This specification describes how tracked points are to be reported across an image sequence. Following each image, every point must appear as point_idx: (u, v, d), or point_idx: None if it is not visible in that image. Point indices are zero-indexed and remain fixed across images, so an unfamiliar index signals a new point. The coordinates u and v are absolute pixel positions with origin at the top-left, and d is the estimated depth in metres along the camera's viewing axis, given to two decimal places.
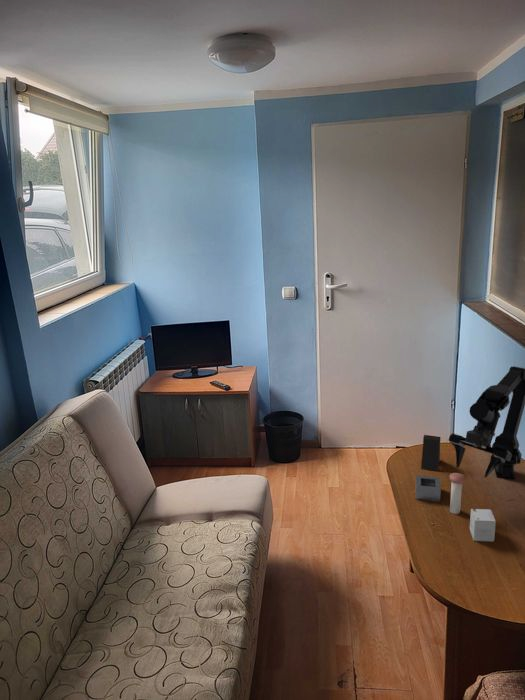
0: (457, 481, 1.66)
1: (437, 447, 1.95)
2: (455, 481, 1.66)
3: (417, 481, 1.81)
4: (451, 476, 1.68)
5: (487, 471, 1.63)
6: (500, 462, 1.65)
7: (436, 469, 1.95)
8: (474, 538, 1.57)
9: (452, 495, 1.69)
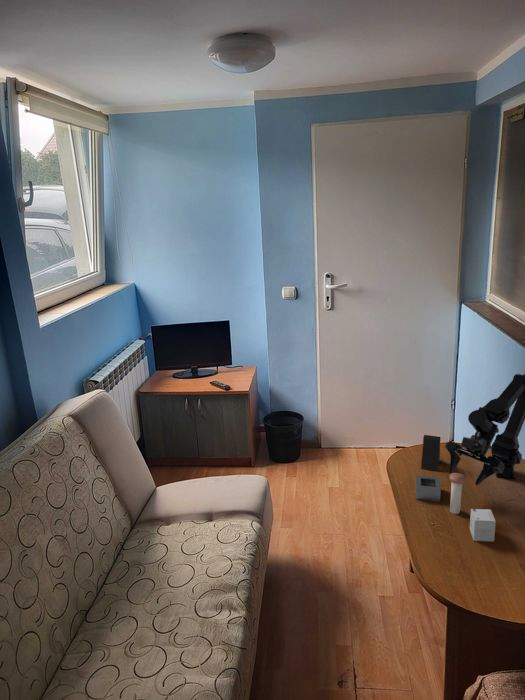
0: (457, 481, 1.66)
1: (437, 447, 1.95)
2: (455, 481, 1.66)
3: (417, 481, 1.81)
4: (451, 476, 1.68)
5: (478, 478, 1.66)
6: (492, 473, 1.68)
7: (436, 469, 1.95)
8: (474, 538, 1.57)
9: (452, 495, 1.69)
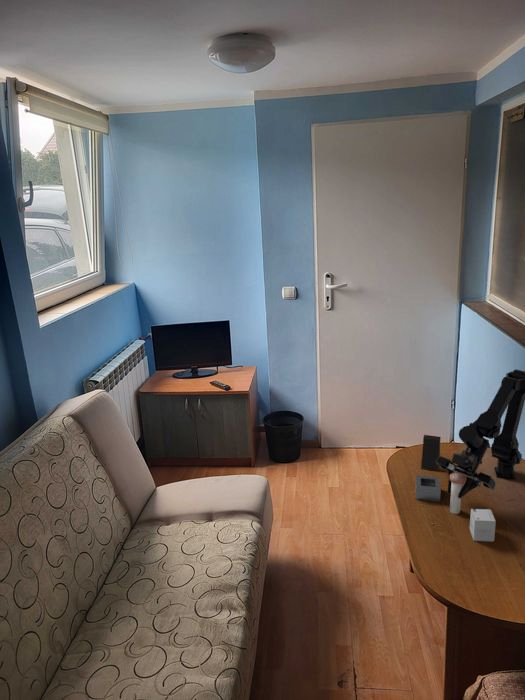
0: (457, 481, 1.66)
1: (437, 447, 1.95)
2: (455, 481, 1.66)
3: (417, 481, 1.81)
4: (451, 476, 1.68)
5: (461, 492, 1.67)
6: (475, 486, 1.68)
7: (436, 469, 1.95)
8: (474, 538, 1.57)
9: (452, 495, 1.69)
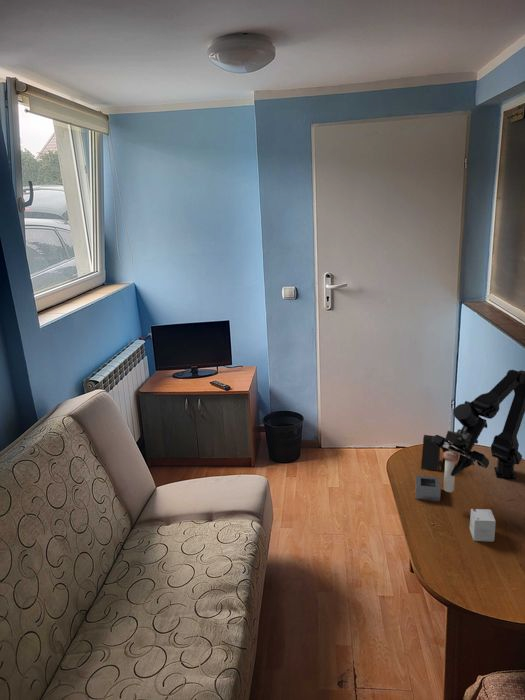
0: (450, 458, 1.66)
1: (437, 447, 1.95)
2: (448, 458, 1.66)
3: (417, 481, 1.81)
4: (445, 454, 1.68)
5: (454, 469, 1.67)
6: (469, 464, 1.68)
7: (436, 469, 1.95)
8: (474, 538, 1.57)
9: (445, 472, 1.69)
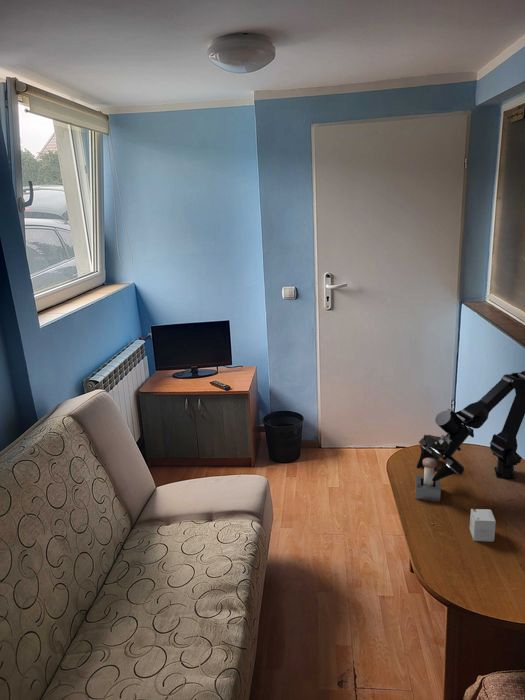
0: (427, 465, 1.76)
1: None
2: (425, 464, 1.76)
3: (417, 481, 1.81)
4: (424, 460, 1.78)
5: (435, 475, 1.74)
6: (452, 473, 1.74)
7: (436, 469, 1.95)
8: (474, 538, 1.57)
9: (424, 477, 1.79)
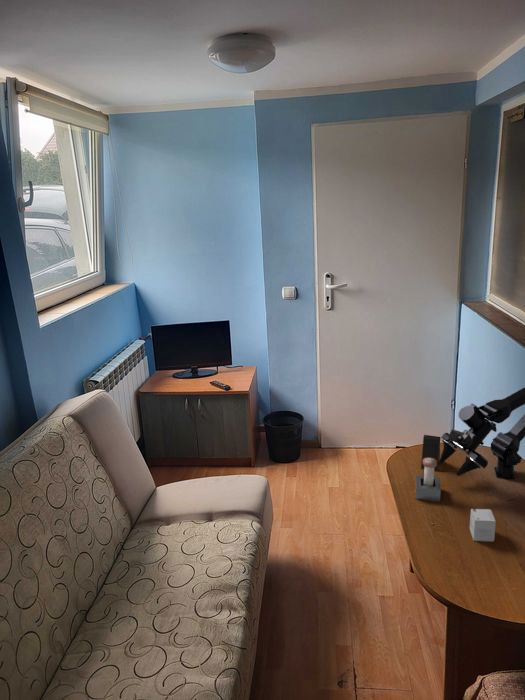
0: (427, 464, 1.76)
1: (437, 447, 1.95)
2: (425, 464, 1.76)
3: (417, 481, 1.81)
4: (424, 459, 1.78)
5: (459, 470, 1.76)
6: (476, 467, 1.76)
7: (436, 469, 1.95)
8: (474, 538, 1.57)
9: (424, 477, 1.79)
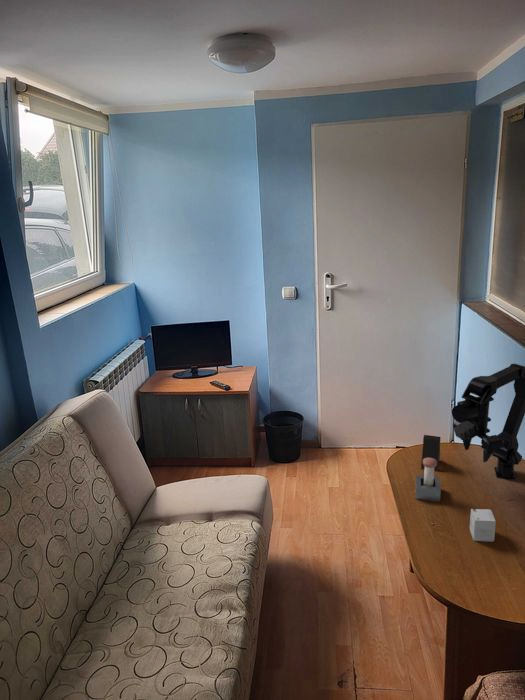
0: (427, 464, 1.76)
1: (437, 447, 1.95)
2: (425, 464, 1.76)
3: (417, 481, 1.81)
4: (424, 459, 1.78)
5: (484, 457, 1.74)
6: None
7: (436, 469, 1.95)
8: (474, 538, 1.57)
9: (424, 477, 1.79)
